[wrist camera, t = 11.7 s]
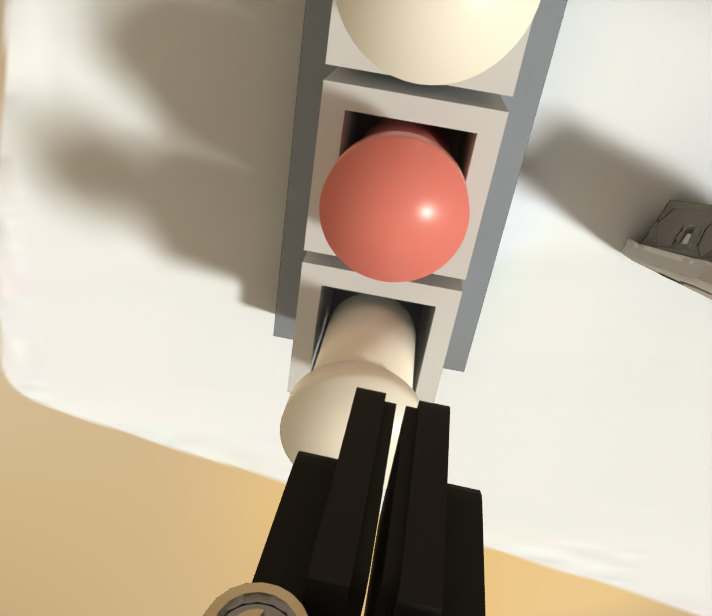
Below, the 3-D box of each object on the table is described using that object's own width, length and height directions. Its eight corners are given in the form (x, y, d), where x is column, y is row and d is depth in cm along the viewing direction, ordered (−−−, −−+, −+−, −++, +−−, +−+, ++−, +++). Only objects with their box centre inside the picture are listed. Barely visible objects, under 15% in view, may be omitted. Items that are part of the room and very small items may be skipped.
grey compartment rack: (593, -129, 28) (656, -171, 20) (462, 350, 41) (468, 447, 32) (332, -171, 29) (288, -230, 20) (282, 316, 41) (242, 403, 33)
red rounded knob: (475, 109, 29) (486, 153, 22) (448, 221, 32) (451, 294, 25) (356, 88, 29) (328, 126, 22) (340, 202, 32) (311, 268, 25)
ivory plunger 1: (438, 293, 30) (438, 394, 23) (416, 388, 33) (409, 505, 25) (323, 272, 30) (287, 366, 23) (310, 367, 33) (274, 478, 26)
